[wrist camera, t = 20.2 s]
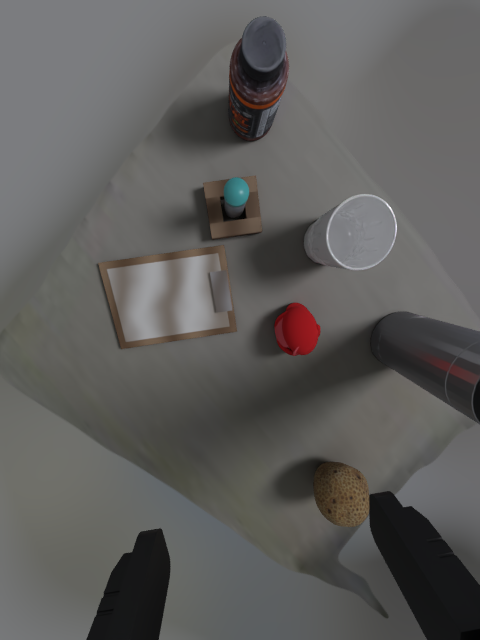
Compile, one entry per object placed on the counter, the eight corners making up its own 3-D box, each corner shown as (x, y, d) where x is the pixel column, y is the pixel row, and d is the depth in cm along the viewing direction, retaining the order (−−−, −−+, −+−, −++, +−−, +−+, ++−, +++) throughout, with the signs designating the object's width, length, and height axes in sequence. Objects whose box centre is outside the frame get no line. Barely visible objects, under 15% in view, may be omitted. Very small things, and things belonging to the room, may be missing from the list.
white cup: (301, 212, 35) (329, 192, 26) (354, 213, 36) (402, 195, 26) (297, 268, 37) (322, 269, 27) (348, 268, 38) (391, 270, 28)
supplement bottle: (218, 117, 32) (214, 41, 21) (250, 79, 31) (262, -21, 20) (251, 153, 33) (264, 99, 22) (282, 117, 33) (311, 42, 22)
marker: (242, 198, 35) (248, 176, 26) (244, 219, 35) (250, 204, 26) (223, 200, 34) (222, 178, 26) (225, 220, 35) (225, 206, 26)
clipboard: (224, 245, 36) (223, 244, 35) (236, 330, 39) (237, 332, 38) (100, 263, 35) (96, 263, 34) (122, 347, 38) (119, 350, 37)
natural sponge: (349, 440, 45) (383, 490, 35) (354, 480, 47) (388, 537, 37) (300, 451, 45) (321, 504, 35) (307, 490, 47) (329, 550, 37)
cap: (316, 361, 37) (338, 336, 33) (283, 364, 35) (302, 337, 31) (294, 322, 42) (311, 296, 38) (264, 323, 40) (278, 295, 36)
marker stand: (254, 180, 34) (255, 175, 32) (260, 232, 36) (262, 231, 34) (204, 187, 34) (203, 182, 32) (212, 239, 36) (211, 238, 34)
